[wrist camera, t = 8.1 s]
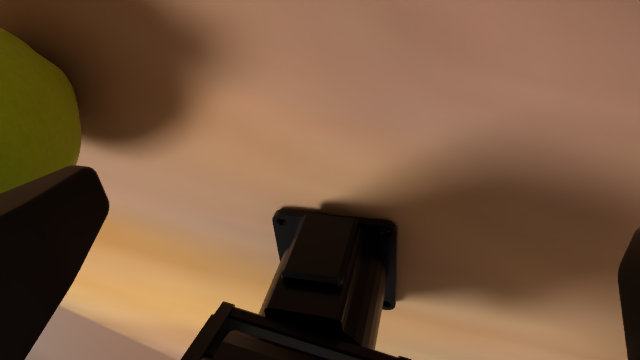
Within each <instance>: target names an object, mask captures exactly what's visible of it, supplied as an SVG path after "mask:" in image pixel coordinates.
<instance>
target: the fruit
mask: <svg viewBox="0 0 640 360" xmlns="http://www.w3.org/2000/svg"><path fill="white" fill-rule="evenodd" d="M80 147H81V126H80V118H79V111H78V105H77V101H76V97H75V93H74V90H73V88H72V85H71V83H70V81H69V80H68V78H67V76H66V75H65V74H64V73H63V72H62V71H61V69H60V68H58V67H57V66H56V65H54V64H53V63H51V62H50V61H48V60H47V59H45V58H44V57H42V56H41V55H39V54H38V53H36V52H35V51H34V50H33V49H32V48H31V47H30V46H28V45H27V44H26V43H25V42H23V41H22V40H20V39H19V38H17V37H16V36H14V35H13V34H11V33H9V32H8V31H6V30H4V29H2V28H0V193H3V192H5V191H8V190H10V189H13V188H15V187H18V186H20V185H23V184H25V183H28V182H30V181H32V180H35V179H37V178H40V177H42V176H45V175H47V174H50V173H52V172H55V171H57V170H60V169H62V168H64V167H67V166H71V165H76V163H77V160H78V156H79V152H80Z"/></svg>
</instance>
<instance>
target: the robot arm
mask: <svg viewBox="0 0 640 360" xmlns="http://www.w3.org/2000/svg"><path fill="white" fill-rule="evenodd" d="M108 211H109V201H108V198H107V196H106V193H105V191H104V189H103V186H102V184H101V182H100V179H99V177H98V175H97V173H96V171H95V170H94V169H93V168H90V167H85V166H76V165H71V166H67V167H64V168H62V169H60V170H57V171H55V172H52V173H50V174H47V175H45V176H42V177H40V178H37V179H35V180H32V181H30V182H28V183H25V184H23V185H20V186H18V187H15V188H13V189H10V190H8V191H5V192H3V193H0V360H25V358H26V356H27V355H28V353H29V352H30V350H31V349H32V347H33V345H34V344H35V342H36V341H37V339H38V338H39V336H40V334H41V333H42V331H43V330H44V328H45V326H46V325H47V323H48V322H49V320H50V318H51V317H52V315H53V314H54V312H55V311H56V309H57V307H58V306H59V304H60V303H61V301H62V300H63V298H64V296H65V295H66V293H67V292H68V290H69V288H70V287H71V285H72V283H73V281H74V280H75V278H76V276H77V274H78V272H79V270H80V268H81V266H82V264H83V262H84V260H85V258H86V256H87V254H88V252H89V250H90V248H91V246H92V244H93V242H94V240H95V238H96V236H97V234H98V233H99V231H100V229H101V227H102V225H103V223H104V221H105V219H106V217H107V214H108ZM280 218H282V219H284V220H282V219H280ZM272 221H273V226H274V232H275V237H276V242H277V247H278V252H279V258H280V264H279V266H278V269H277V271H276V273H275V276H274V278H273V281H272V283H271V285H270V288H269V290H268V293H267V295H266V297H265V300H264V302H263V304H262V307H261V309H260V312H259V314H256V313H253V312H249V311H246V310H243V309H240V308H236V307H235V305H234V304H230V303H227V302H224V301H223V302H222V304H221V305H220V307H219V308H218V310H217V311H216V313H215V314H214V315H213V314H212V315H211V316H210V318H209V319H208V321H207V322H206V324H205V325H204V326H203V328H202V329H201V331H200V332H199V334H198V335H197V337H196V338H195V340H194V341H193V342H192V344H191V345H190V347H189V348H188V350H187V351H186V353H185V354H184V356H183V357H182V359H181V360H411V359H408V358H405V357H402V356H399V357H395V356H391V355H388V354H385V353H382V352H379V351H375V345H376V340H377V334H378V328H379V323H380V317H381V312H382V309H384V310H391V309H393V308H395V304H396V284H397V237H398V228H397V226H396V224H395V223H393V222H392V221H387V220H378V219H368V218H358V217H349V216H339V215H329V214H320V213H310V212H300V211H291V210H278V211H276V213H275V214H274V216H273V220H272ZM385 230H389V231H390V232H387V231H385ZM618 285H619V293H620V301H621V309H622V317H623V325H624V332H625V340H626V348H627V356H628V360H640V227H639V228H638V229H637V230H636V231H635V233H634V235H633V237H632V239H631V241H630V244H629V246H628V248H627V250H626V252H625V254H624V257H623V259H622V261H621V263H620V266H619V270H618Z"/></svg>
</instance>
